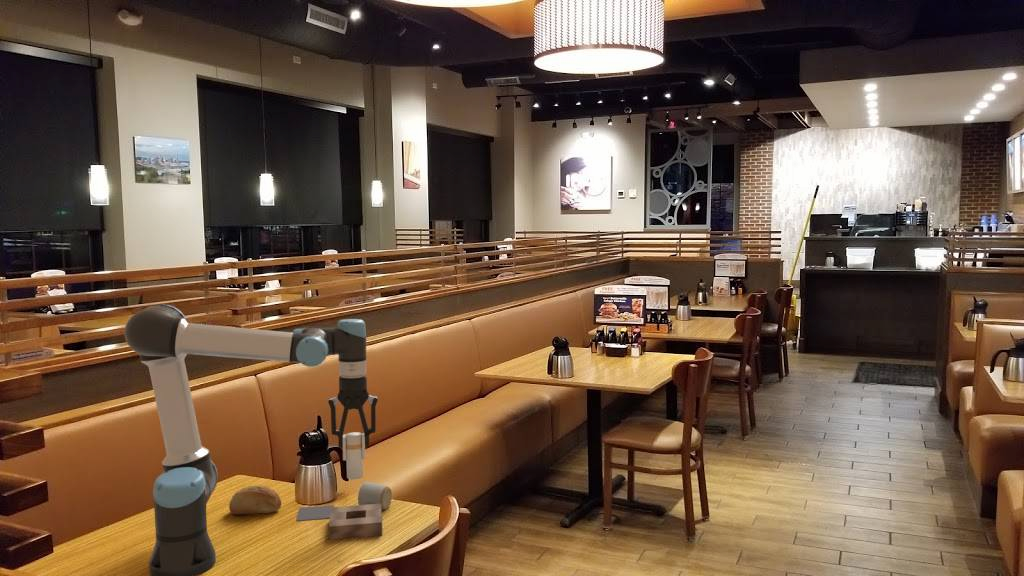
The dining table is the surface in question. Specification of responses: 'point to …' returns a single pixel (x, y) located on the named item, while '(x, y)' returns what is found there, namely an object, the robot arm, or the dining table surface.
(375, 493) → the ceramic mug
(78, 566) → the dining table surface
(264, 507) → the bread roll
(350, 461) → the white banded cylinder
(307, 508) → the mat
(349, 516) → the block
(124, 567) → the dining table surface
